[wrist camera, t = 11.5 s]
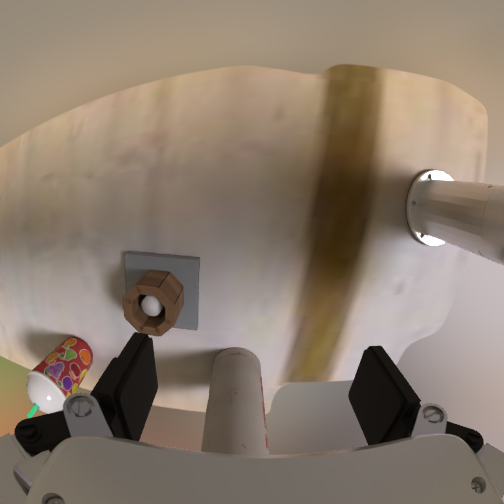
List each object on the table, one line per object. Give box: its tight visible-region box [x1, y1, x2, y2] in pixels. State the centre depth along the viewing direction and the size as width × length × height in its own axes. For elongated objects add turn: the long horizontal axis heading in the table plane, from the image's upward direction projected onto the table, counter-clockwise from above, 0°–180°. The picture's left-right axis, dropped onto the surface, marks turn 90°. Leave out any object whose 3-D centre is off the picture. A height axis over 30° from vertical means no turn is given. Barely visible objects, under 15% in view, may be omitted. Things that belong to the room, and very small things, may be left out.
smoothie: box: [27, 337, 93, 418], centre depth 33 cm, size 8×8×20 cm
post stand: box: [125, 251, 200, 330], centre depth 37 cm, size 11×11×6 cm
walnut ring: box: [123, 270, 184, 336], centre depth 35 cm, size 7×7×6 cm
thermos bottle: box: [201, 348, 269, 455], centre depth 30 cm, size 8×8×28 cm
